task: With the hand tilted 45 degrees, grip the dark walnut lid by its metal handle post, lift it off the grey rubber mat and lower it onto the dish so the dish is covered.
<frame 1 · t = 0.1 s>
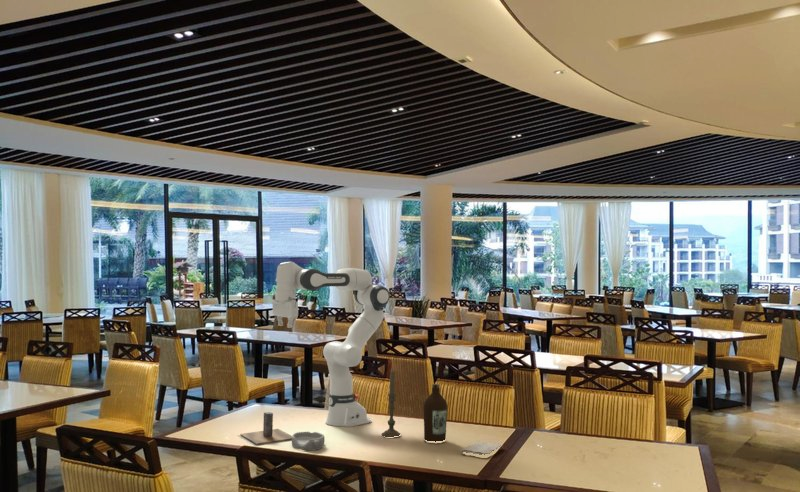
hand: (285, 326, 304), 48 cm above the table, tool pointing down, fingers open, 8 cm apart
candlestick holder: (391, 436, 299), on the table
lid: (267, 437, 289), point 1 cm above the table, touching mat
olive oil: (434, 441, 291), on the table
washcloth: (481, 453, 276), on the table
dish: (308, 447, 279), on the table
mat: (267, 439, 289), on the table
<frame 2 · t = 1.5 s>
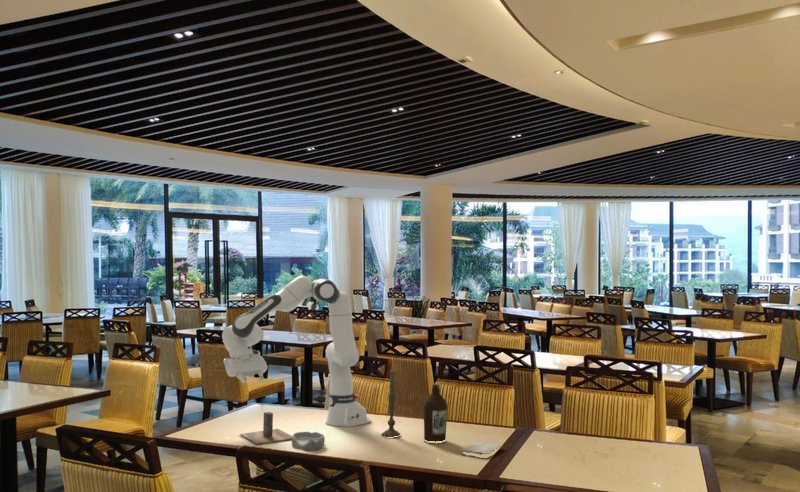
hand: (253, 381, 297), 24 cm above the table, tool tilted 45°, fingers open, 8 cm apart
nothing on the table moved.
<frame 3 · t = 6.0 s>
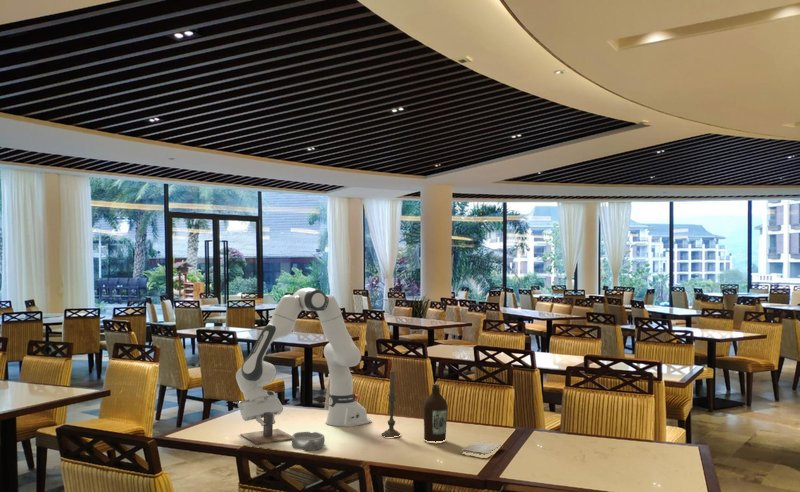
hand: (268, 424, 289), 6 cm above the table, tool tilted 45°, fingers closed on lid, 4 cm apart
lid: (267, 437, 289), point 1 cm above the table, touching gripper, mat
everything else where it was.
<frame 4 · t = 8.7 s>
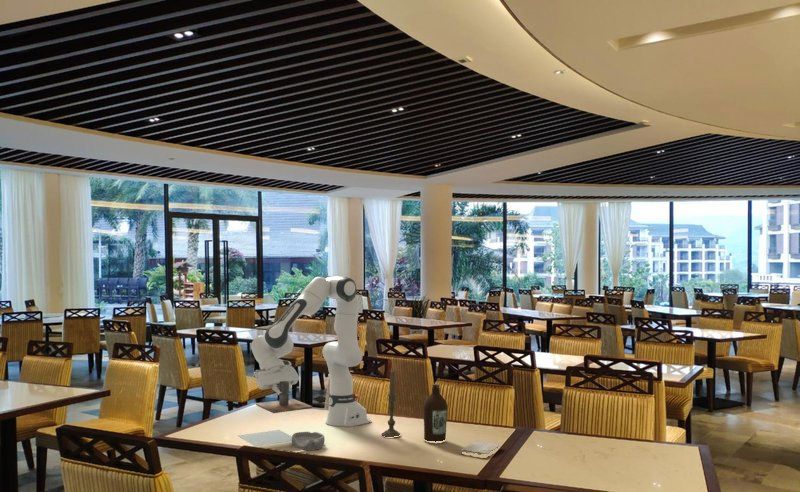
hand: (285, 393, 286), 21 cm above the table, tool tilted 45°, fingers closed on lid, 4 cm apart
lid: (283, 406, 286), point 15 cm above the table, touching gripper
everything else where it was.
when the fingers open (12 cm above the table, at t = 11.5 s): lid drops 2 cm, resting on dish.
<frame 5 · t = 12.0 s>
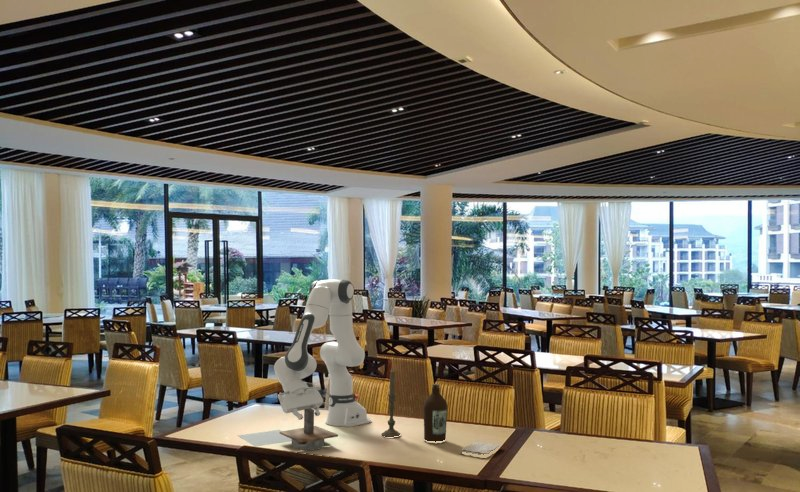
hand: (309, 417, 279), 12 cm above the table, tool tilted 45°, fingers open, 8 cm apart
lid: (308, 435, 280), point 5 cm above the table, touching dish
dish: (308, 447, 279), on the table, touching lid
everything else where it was.
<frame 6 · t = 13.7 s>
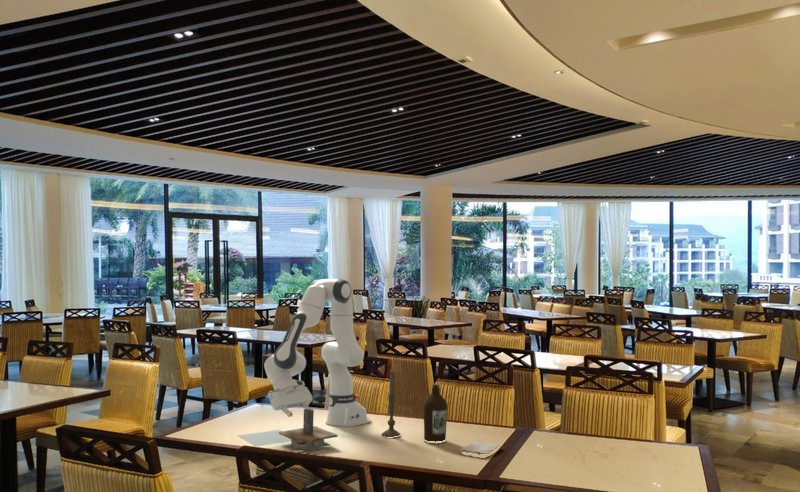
hand: (299, 414, 284), 12 cm above the table, tool tilted 45°, fingers open, 8 cm apart
nothing on the table moved.
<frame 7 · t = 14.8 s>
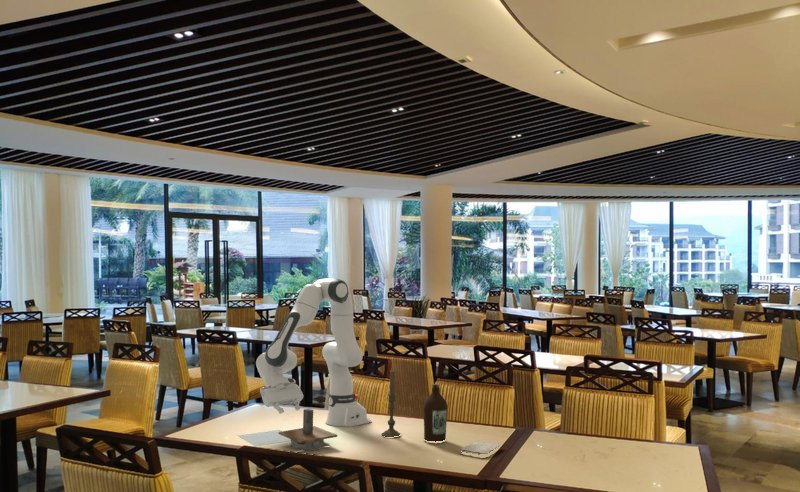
hand: (290, 411, 288), 13 cm above the table, tool tilted 45°, fingers open, 8 cm apart
nothing on the table moved.
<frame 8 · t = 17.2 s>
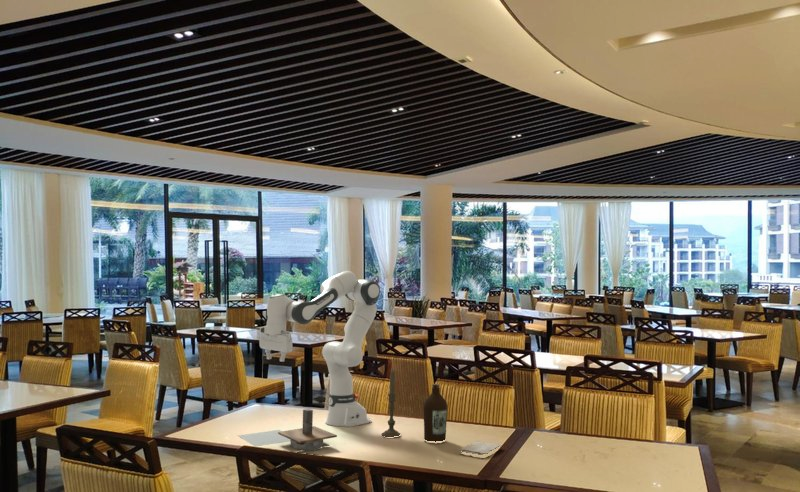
hand: (275, 360, 299), 33 cm above the table, tool pointing down, fingers open, 8 cm apart
nothing on the table moved.
at the end: lid 0.1 cm from the dish (horizontally); lid point 4.6 cm above the table; lid tilted 0° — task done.
